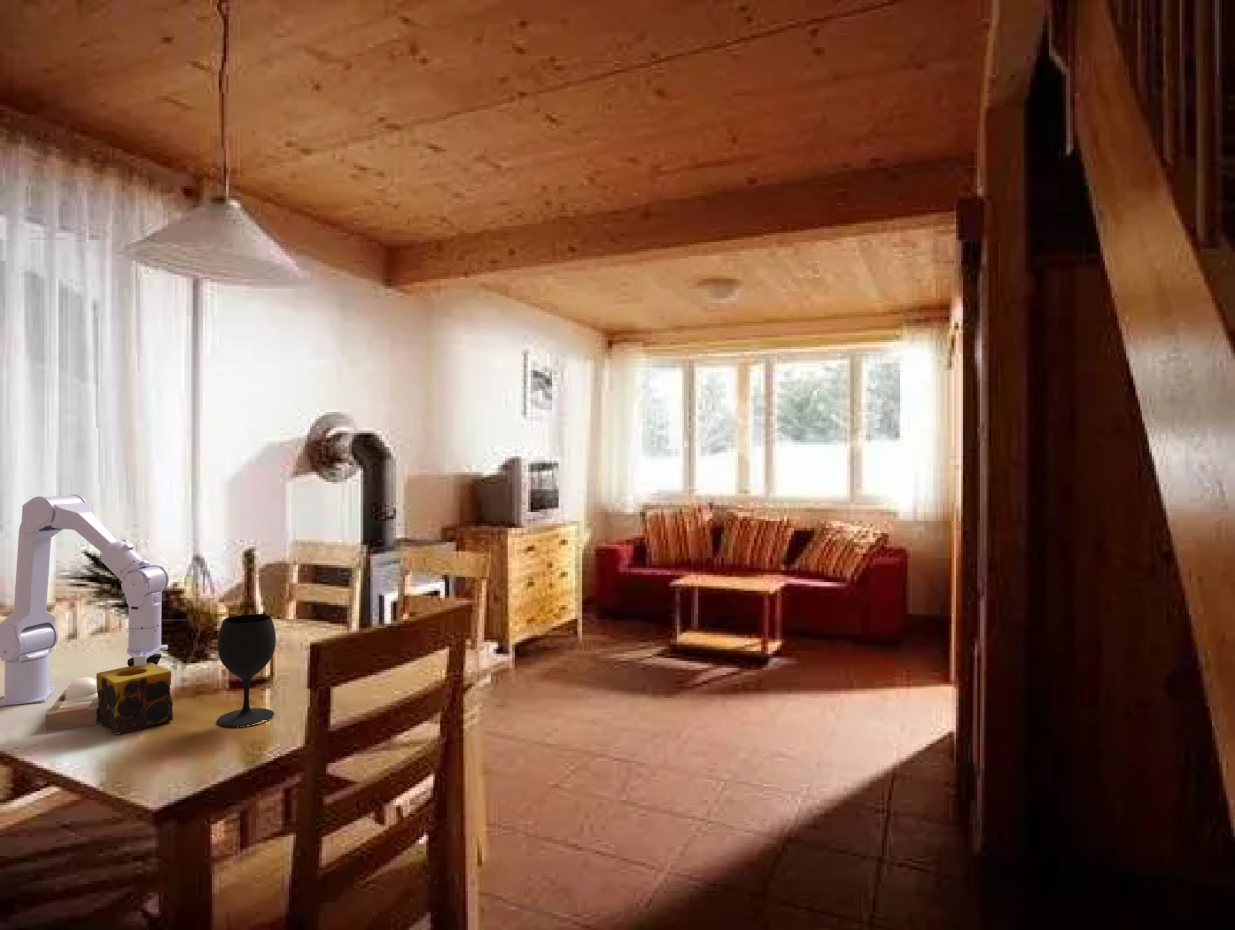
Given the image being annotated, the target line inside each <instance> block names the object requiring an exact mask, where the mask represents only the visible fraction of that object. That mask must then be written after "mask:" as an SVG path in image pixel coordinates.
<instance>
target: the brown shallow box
mask: <svg viewBox="0 0 1235 930" xmlns="http://www.w3.org/2000/svg"><path fill="white" fill-rule="evenodd" d="M66 690H67V689H64V691H63V692H62V693H61V695H60V696H59V697H58V698H57V700H56V701H55V702H54V703H53V705H52V706H51V707H50V709H49V710H48V711H47V712H46V713H45V730H44V731H52V730H53V731H54V730H60V729H62V730H63V729H69V728H70V729H71V728H78V727H87V726H89V727H90V726H97V724H99V723H98V720H97V719H98V718H97V717H98V714H97V708H98V698H95V697H91V698H81V699H70V700H66Z"/></svg>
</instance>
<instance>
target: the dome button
mask: <svg viewBox="0 0 1235 930" xmlns="http://www.w3.org/2000/svg"><path fill="white" fill-rule="evenodd" d="M65 690H66V700H70V699H81V698H91V697H95V698H97V697H98V694H97V678H94V677H89V676H83V677H80V678H77V679H75V680H73V681H72V682H71V683H69V685H68V686H67V689H65Z"/></svg>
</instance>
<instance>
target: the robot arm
mask: <svg viewBox="0 0 1235 930" xmlns="http://www.w3.org/2000/svg"><path fill="white" fill-rule="evenodd" d="M21 508H22V510H21V522H20V525H19V528H18V537H17V538H18V542H17V557H16V570H15V571H16V572H15V573H16V574H15V585H14V586H15V587H14V601H13V612H11V613H10V614H9V615H8V616H7V617H6V618H4V619H3V620H1V621H0V659H1V661H3V662H4V697H3V698H2V699H1V700H0V707H1V706H12V705H22V704H23V705H25V704H30V703H31V704H32V703H41V702H46V700H47V699H48V698H49V697H50V696H51V694H52V693H53V692H54V691H55V690H56V686H51V662H50V661H51V660H50V658H49V654H52V649H53V648H54V647H55V646H56V645H57V642H58V641H59V631H58V629H57V626H56V616H55V615H53V614H52V613H50V612H49V611H47V605H48V603H47V601H48V589H49V576H50V575H49V574H50V558H51V544H52V538H53V537H54V536H56V535H57V534H58V533H60V532H61V531H63V530H73V531H75V532H76V533H77V534H78V535H80V536H81V537H82V538H83V539H85V540H86V541H87V542H88V543H89V544H90V545H92V546H93V547H94V548H96V549H97V550H98V551H99V552H101V556H100V560H101V563H103V564H104V565H105V566H106V568H107V569H109V570H110V571H111V572H112V573H113V574H114V575H115V576H116V577H117V578H118V579H119V580H120V581H121V583H120V585H121V586H120V587H121V590H122V592H123V594H124V595H125V598H126V604H127V606H128V628H127V629H128V631H127V633H128V640H127V641H128V642H127V643H128V644H127V649H126V653H127V655H129V656H130V657H129V658H128V659H127V667H129V666H133V665H134V666H144V665H146V663H150V662H151V663H154V664H156V665H158V664H159V663H160V661H161V658H162V654H161V653H159V652H161V651H162V652H163V651H167V650H168V649H169V645H168V644H162V598H163V597H162V596H163V595H162V593H163V591H165V590H166V589H167V588H168V586H169V575H168V573H167V571H166V570H165V568H164V567H163V566H161V565H159V564H153V563H151V562H149V561H148V560H147V559H145V558H144V557H143V556H142V555H141V554H140V552H138V551H137V550H136V549H135V546H134V545H133V544H132V543H131V542H127V541H117V539H116V538H115V537H114V536H113V535H112V534H111V533H110V531H109V530H108V529H107V528H106V527H105V526H104V525H103V523H102V522H101V521H100V520H99V519H98V518H97V517H96V516H95V514H94V513H93V505H92V504H90V503H89V502H87V500H86V499H85V498H84V496H82V495H79V494H70V495H58V496H57V495H55V496H35V497H32V498H31V499H30V500H28V501H26V502H25V503H24V504H22V507H21Z"/></svg>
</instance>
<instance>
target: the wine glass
mask: <svg viewBox="0 0 1235 930" xmlns="http://www.w3.org/2000/svg"><path fill="white" fill-rule="evenodd" d="M217 638H218V639H217V653H218V657H219V659H220V662H221V664H222V665H223V666H224V667H225V668H226V669H227V670H228V671H229V672H230V673H231V674H233V675H235V676H236V677H238V678H240V679H241V682H242V685H243V704H242V708H241V709H238V710H237V709H236V710H232V711H230V712H227V713H224V714H222V715H220V716H219V717H218V718H217V720H216V723H217V722H218V724H220V725H222V726H226V727H225V728H228V727H237V726H238V727H240V726H241V727H242V726H247V725H252V724H255V723H258V722H261V721H262V720H269V719H271V718H272V717H273V715H274V716H275V712H274V710H272V709H268V708H264V707H263V708H262V707H261V708H260V707H251V705H250V687H251V686H250V684H251V681H252V678H254V676H256V675H257V674H258V673H260V672H261V671H262V670H263V669H264V668H265V667H266V666H267V665H268V664H269V662H270V661H271V659H272V657H273V655H274V653H275V650H276V643H277V637H276V629H275V625H274V620H273V619H272V616H271V615H268V614H261V613H259V614H258V613H255V614H254V613H253V614H250V613H249V614H240V615H239V614H238V615H235V616H229V617H226V618H224V619H223V620H222V623H221V626H220V629H219V632H218V637H217ZM273 718H274V717H273ZM273 718H272V719H273ZM272 719H271V720H272ZM218 724H217V725H218ZM220 725H219V726H220ZM222 726H221V727H222Z"/></svg>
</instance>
